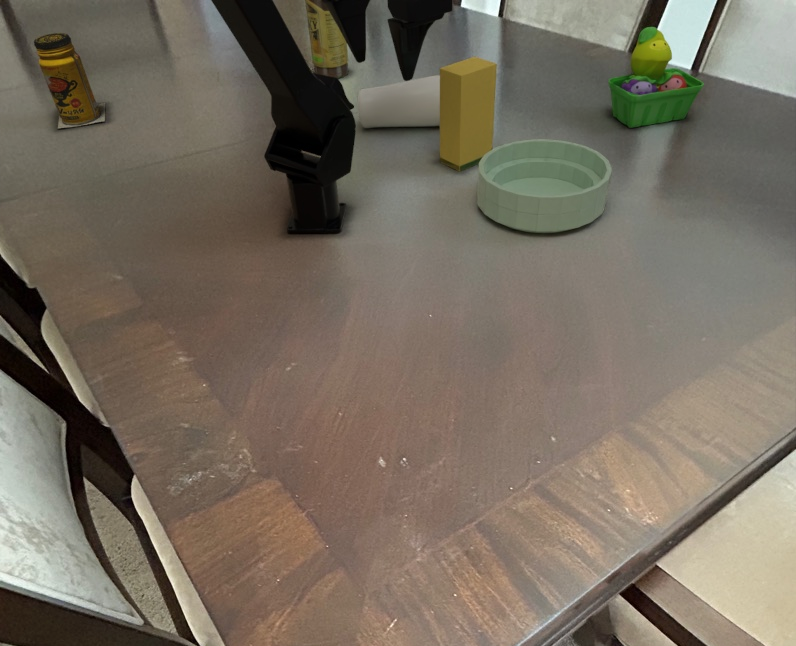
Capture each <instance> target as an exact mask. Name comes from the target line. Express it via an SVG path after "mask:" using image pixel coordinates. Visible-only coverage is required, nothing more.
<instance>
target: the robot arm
mask: <svg viewBox="0 0 796 646" xmlns="http://www.w3.org/2000/svg"><path fill="white" fill-rule="evenodd" d="M210 1H211V3H212V4H213V6H214V7H215V9H216V10H217V12H218V14H219V15H220V16H221V18H222V20H223V22H224V23H225V25H226V26H227V27H228V29H229V31H230V32H231V34H232V36H233V37H234V38H235V40H236V42H237V44H238V45H239V46H240V48H241V50H242V51H243V53H244V54H245V56H246V57H247V59H248V61H249V62H250V64H251V65H252V67H253V68H254V70H255V71H256V73H257V75H258V76H259V78H260V79H261V81H262V82H263V84H264V86H265V88H266V89H267V90H268V92H269V94H270V116H271V118H272V121H273V123H274V126H275V127H274V130H273V133H272V135H271V137H270V140H269V142H268V145H267V147H266V150H265V152H264V155H263V157H264V160H265V162H266V163H267V165H268V168H269V169H270V170H271V171H273V172H279V173H282V174H285V176H286V177H285V178H286V184H287V190H288V196H289V200H290V207H291V214H290V216H289V219H288V222H287V225H286V233H288V234H329V233H331V234H332V233H333V234H335V233H337V234H338V233H341V231H342V228H343V224H344V220H345V216H346V212H347V204H346V203H345V202H340V199H339V191H338V190H339V189H338V180H340V179H341V178H343V177H345V176H347V175H349V174H350V173H351V171H352V165H353V156H354V148H355V141H356V127H357V124H356V119H355V117H354V114H353V111H352V110H353V109H355V105H354V104H353V103H352V102H351V101H350V100H349V98H348V97H347V94H346V92H345V89H344V85H343V84H342V82H341V81H340V80H339V78H335V77H331V76H326V75H322V74H318V73H315V72H313V71H312V70H311V68H310V66H309V64H308V63H307V60H306V58H305V57H304V55H303V53H302V52H301V50H300V48H299V46H298V44H297V42H296V41H295V38H294V36H293V34H292V33H291V31H290V29H289V27H288V25H287V24H286V22H285V20H284V18H283V16H282V15H281V13H280V11H279V9H278V8H277V7H278V6H276V3H275V2H274V0H210ZM386 1H387V9H388V11H389V13H390V15H391V18H387V24H388V29H389V32H390V36H391V40H392V44H393V47H394V51H395V55H396V59H397V63H398V67H399V70H400V74H401V77H402V79H403V81H409V80H413V79H414V75H415V71H416V69H417V65H418V62H419V58H420V54H421V51H422V47H423V44H424V42H425V39H426V36H427V33H428V32H429V29H430V28H431V27H432V26H433V24H434V23H435V22H436V21H439V20H442V19H443V18H444V16H445V14H448V13H451V12H453V10H454V0H386ZM321 2H322V3H324V4H325V5H326V7H327V9H328V10H329V12H330V14H331V15H332V17H333V19H334V21H335V22H336V24H337V26H338V27H339V29H340V31H341V33H342V35H343V37H344V39H345V40H346V42H347V47H348V48H349V50H350V52H351V54H352V56H353V57H354V59H355V61H356V63H359V64H360V63H364V62H365V61H366V57H367V9H368V6H369V4H370V2H371V0H321Z"/></svg>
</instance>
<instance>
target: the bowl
mask: <svg viewBox="0 0 796 646" xmlns="http://www.w3.org/2000/svg"><path fill="white" fill-rule="evenodd" d="M477 165H478V166H477V167H478V168H477V190H476V198H477V200H476V201H477V206H478V208H479V209H480V210H481V211H482V213H483V214H484V215H485V216H486V217H487V218H489V219H491V220H493V222H496V223H498V224H500V225H502V226H504V227H507V228H509V229H513V230H515V231H519V232H525V233H533V234H554V233H555V234H556V233H562V232H567V231H570V230H575V229H578V228H581V227H583V226H586V225H588V224H591V223H592V222H594V221H595V220H596V219H597V218H599V217H600V216H601V215H602V214H603V213H604V210H605V207H606V205H607V202H608V201H607V200H608V196H609V190H610V184H611V180H612V175H613V168H612V165H611V162H610V161H609V159H608V158H606V157H605V155H603V154H602V153H601V152H600V151H598V150H595V149H593V148H591V147H589V146H587V145H584V144H580V143H575V142H573V141H568V140H560V139H559V140H558V139H551V138H550V139H549V138H540V139H539V138H536V139H535V138H533V139H532V138H531V139H524V140H517V141H511V142H507V143H505V144H501V145H499V146H496V147H494V148H492V150H491V151H489V152H488V153H486V154H485V155H484V156H483V157H482V159H481V160H480V162H479V163H478V164H477Z"/></svg>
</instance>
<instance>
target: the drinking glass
mask: <svg viewBox="0 0 796 646" xmlns="http://www.w3.org/2000/svg"><path fill="white" fill-rule="evenodd" d="M357 112H358V119H359V122H360V125H361V127H362V128H363V129H371V128H373V129H374V128H399V127H401V128H404V127H405V128H407V127H408V128H409V127H414V128H415V127H418V128H419V127H440V74H435V75H428V76H424V77H418V78H412V79H411V80H409V81H404V80H403V81H398V82H394V83H389V84H384V85H378V86H373V87H365V88H361V89H359V90H358V92H357Z"/></svg>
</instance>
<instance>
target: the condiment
mask: <svg viewBox="0 0 796 646" xmlns="http://www.w3.org/2000/svg"><path fill="white" fill-rule="evenodd" d="M33 45H34V47H35V49H36V53H37V56H38V57H39V58H38V59H39V60H38V65H39V67H40V70H41V73H42V74H43V77H44V80H45V82H46V85H47V88H48V89H49V94H50V95H51V98H52V100H53V103H54V106H55V108H56V110H57V113H58V124H57V129H64V128H65V129H66V128H74V127H81V126H86V125H91V124H96V123H101V122H106V102H101V103H97V101H96V98H95V95H94V92H93V90H92V87H91V84H90V81H89V79H88V76H87V73H86V70H85V67H84V64H83V61H82V59H81V56H80V55H79V53H77V51H76V50H75V46H74V44H73V43H72V38H71V37H70V35H69V34H68V33H63V32H54V33H47V34H44V35H41V36H37V37H36V38H35V39H34V40H33Z"/></svg>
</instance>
